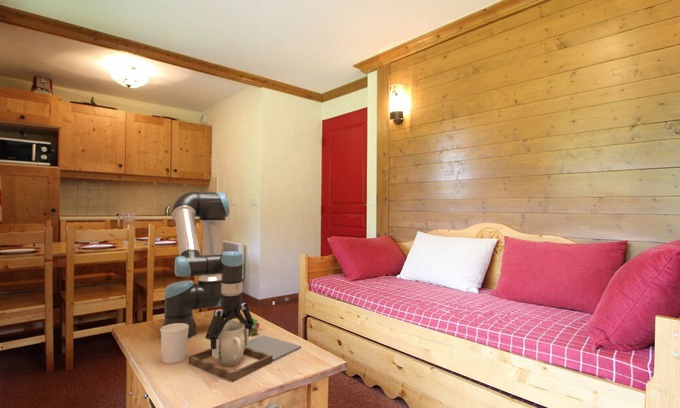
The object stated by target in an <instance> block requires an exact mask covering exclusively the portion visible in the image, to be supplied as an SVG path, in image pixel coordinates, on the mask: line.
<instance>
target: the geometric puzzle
mask: <svg viewBox="0 0 680 408" xmlns="http://www.w3.org/2000/svg"><path fill="white" fill-rule="evenodd" d="M252 319H253V322H254V325H252V328H251V329H250V335H249V336H251V337H252V336H253V335H254V333H255V334H256V333H258V332H259V331H260V329H261V326H260V324H261V323H260V322H258V320H257V319H255V318H253V317H252ZM244 328H245V327H244Z"/></svg>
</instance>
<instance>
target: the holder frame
mask: <svg viewBox="0 0 680 408" xmlns="http://www.w3.org/2000/svg"><path fill="white" fill-rule="evenodd" d="M243 355H244V356H247V357H250V358H253V359H257V360H256V361H254V362H251V363H249V364H247V365H245V366H243V367H241V368H238V369H236V370H234V371H232V370H229V369H227V368H224V367H221V366H220V365H217V364H215V363H212V362H209V361H207V360H205V359H208V358H210V357H212V349H211V348H208V349H205V350H203V351H200V352H198V353H195V354H192V355H189V356H188V363H187V364H189V365H191V366H194V367H196V368H199V369H201V370H203V371H206V372H208V373H210V374H213V375H215V376H218V377H220V378H223V379H224V380H227V381H229V382H232V383H233V382H235V381H237V380H239V379H241V378H244V377H246V376H248V375H250V374H252V373H254V372H256V371H257V370H260V369H262V368H264V367H266V366H268V365H270V364H272V363H273V361H272V355H269V354H266V353H263V352H260V351H257V350H254V349H251V348H248V347H245V349H244V353H243Z"/></svg>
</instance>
